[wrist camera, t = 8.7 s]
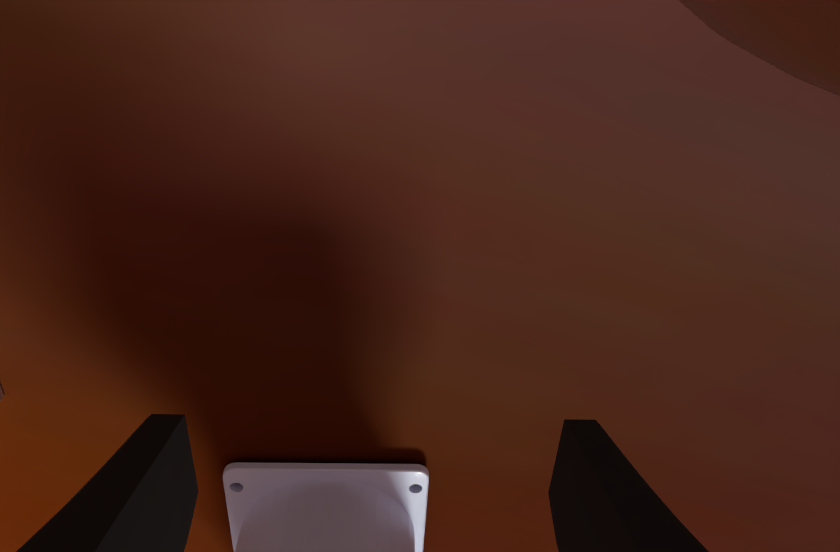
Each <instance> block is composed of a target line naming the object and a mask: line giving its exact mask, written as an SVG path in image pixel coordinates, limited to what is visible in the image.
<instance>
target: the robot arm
mask: <svg viewBox="0 0 840 552" xmlns="http://www.w3.org/2000/svg"><path fill="white" fill-rule="evenodd" d="M236 483H240V484H236ZM428 483H429V474H428V469H427V468H426V467H425V466H423V465H419V464H356V463H243V462H236V463H230V464H228V465H227V466H226V467H225V469H224V472H223V484H224V491H225V497H226V504H227V511H228V517H229V524H230V531H231V537H232V544H233V550H234V552H423V545H424V533H425V520H426V508H427V495H428ZM413 484H418V485H413ZM197 495H198V486H197V480H196V475H195V469H194V464H193V458H192V453H191V447H190V442H189V436H188V431H187V425H186V419H185V415H171V414H151V415H150V416H149V417H148V418H147V419H146V420H145V421H144V422H143V423H142V424H141V425H140V426H139V427H138V428H137V430H136V431H135V432H134V433H133V434H132V435H131V436H130V437H129V438H128V439H127V441H126V442H125V443H124V444H123V445H122V446H121V447H120V448H119V449H118V450H117V452H116V453H115V454H114V455H113V456H112V457H111V458H110V459H109V460H108V461H107V462H106V463H105V464H104V466H103V467H102V468H101V469H100V470H99V471H98V472H97V473H96V474H95V475H94V476H93V477H92V478H91V479H90V480H89V481H88V482H87V483H86V484H85V485H84V486H83V487H82V488H81V490H80V491H79V492H78V493H77V494H76V495H75V496H74V497H73V498H72V499H71V500H70V501H69V502H68V503H67V504H66V505H65V506H64V507H63V508H62V509H61V510H60V511H59V512H58V513H57V514H56V515H55V516H54V517H53V518H51V519H50V520H49V521H48V522H47V523H46V524H45V525H44V526H43V527H42V528H41V529H40V530H39V531H38V532H37V533H36V534H35V535H33V536H32V537H31V538H30V539H29V540H28V541H27V542H26V543H25V544H24V545H23V546H22V547H21V548H20V549H18V550H17V551H16V552H184V549H185V546H186V543H187V538H188V534H189V530H190V526H191V522H192V517H193V513H194V508H195V504H196V499H197ZM549 500H550V506H551V513H552V519H553V525H554V530H555V536H556V542H557V546H558V550H559V552H708V550H707V549H706V548H705V547H704V546H703V545H702V544H701V543H700V542H699V541H698V540H697V539H696V538H695V537H694V536H693V535H692V534H691V533H690V532H689V531H688V529H687V528H686V527H685V526H684V525H683V524H682V523H681V522H680V521H679V520H678V519H677V517H676V516H675V515H674V514H673V513H672V512H671V511H670V509H669V508H668V507H667V506H666V505H665V504H664V503H663V501H662V500H661V499H660V498H659V497H658V496H657V495H656V493H655V492H654V491H653V490H652V489H651V488H650V486H649V485H648V484H647V483H646V482H645V480H644V479H643V478H642V477H641V476H640V474H639V473H638V472H637V471H636V469H635V468H634V467H633V466H632V464H631V463H630V462H629V461H628V460H627V458H626V457H625V456H624V455H623V453H622V452H621V451H620V450H619V448H618V447H617V446H616V444H615V443H614V442H613V441H612V439H611V438H610V437H609V436H608V434H607V433H606V432H605V430H604V429H603V428H602V427H601V425H600V424H599V423H598V422H597V421H596V420H564V424H563V428H562V433H561V437H560V442H559V447H558V451H557V456H556V460H555V465H554V470H553V474H552V479H551V483H550V488H549Z"/></svg>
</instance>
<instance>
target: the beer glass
mask: <svg viewBox="0 0 840 552" xmlns="http://www.w3.org/2000/svg"><path fill="white" fill-rule="evenodd" d="M678 1H680V2H681V3H682V4H683V5H684V6H685V7H686V8H688V9H689V10H690V11H691V12H692V13H693V14H694V15H696V16H697V17H698V18H699V19H700V20H701V21H702V22H704V23H705V24H706V25H707V26H708V27H710V28H711V29H712V30H713V31H715V32H716V33H717V34H719V35H720V36H722V37H723V38H725V39H726V40H728V41H729V42H731V43H733V44H735V45H736V46H738V47H740V48H742V49H743V50H745V51H747V52H749V53H751V54H753V55H754V56H756V57H758V58H760V59H762V60H764V61H765V62H767V63H769V64H771V65H773V66H775V67H776V68H778V69H780V70H782V71H784V72H785V73H787V74H789V75H791V76H793V77H795V78H797V79H799V80H802V81H804V82H806V83H809V84H811V85H814V86H816V87H819V88H821V89H824V90H826V91H828V92H831V93H833V94H836V95H838V96H840V0H678Z"/></svg>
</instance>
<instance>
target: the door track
mask: <svg viewBox="0 0 840 552" xmlns="http://www.w3.org/2000/svg"><path fill="white" fill-rule="evenodd" d="M3 397H4V393H3V391H2V388H1V385H0V401H1V400H2V398H3Z"/></svg>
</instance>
